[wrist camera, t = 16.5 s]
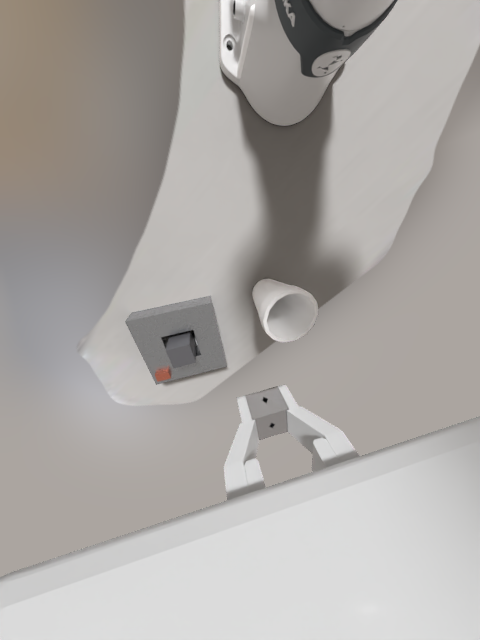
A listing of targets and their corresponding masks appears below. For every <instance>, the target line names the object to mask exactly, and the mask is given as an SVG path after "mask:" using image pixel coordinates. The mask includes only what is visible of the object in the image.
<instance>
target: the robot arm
mask: <svg viewBox="0 0 480 640" xmlns="http://www.w3.org/2000/svg"><path fill="white" fill-rule="evenodd" d="M396 2H397V0H219V57H220V67H221V69H222V71H223V73H224V74H225V75H226V76H227V77H228V78H229V79H230V80H231V81H233V82H234V83H235V84H237V85H238V86H239V87H240V88H241V90H242V91H243V93H244V94H245V96H246V98H247V100H248V101H249V103H250V105H251V106H252V107H253V109H254V110H255V111H256V112H257V113H258V114H259V115H260V116H261V117H262V118H264V119H265V120H266V121H268V122H270V123H272V124H275V125H281V126H288V125H293V124H296V123H298V122H300V121H302V120H303V119H305V118H306V117H307V116H308V115H309V114H310V113H311V112H312V111H313V110H314V109H315V107H316V106H317V104H318V103H319V101H320V100H321V98H322V96H323V94H324V92H325V90H326V88H327V87H328V85H329V83H330V82H331V80H332V78H333V77H334V75H335V74H336V72H337V71H338V69H339V68H340V67H341V66H342V64H343V63H345V62H346V61H347V60H348V59H349V58H350V57H351V56H352V55H353V54H354V53H355V52H356V51H357V50H358V49H359V47H360V46H361V45H362V44H363V43H364V42H365V41H366V40H367V39H368V37H369V36H370V35H371V34H372V33H373V32H374V31H375V29H376V28H377V27H378V26H379V25H380V24H381V22H382V21H383V20H384V19H385V18H386V17H387V15H388V14H389V12H390V11H391V10H392V8H393V7H394V5H395V3H396ZM227 45H230V46H231V48H232V50H231V51H229V50H228V49H227ZM237 402H238V407H239V411H240V416H241V420H242V423H241V424H239V427H238V430H237V433H236V436H235V438H234V441H233V443H232V446H231V449H230V452H229V454H228V457H227V460H226V463H225V465H224V474H225V484H226V493H227V501H224V502H221V503H219V504H215V505H212V506H209V507H206V508H203V509H200V510H197V511H195V512H192V513H188V514H185V515H182V516H180V517H176V518H174V519H170V520H167V521H164V522H162V523H158V524H155V525H153V526H150V527H147V528H143V529H140V530H137V531H135V532H131V533H128V534H125V535H122V536H119V537H116V538H113V539H110V540H107V541H105V542H101V543H99V544H95V545H93V546H90V547H86V548H84V549H81V550H77V551H74V552H71V553H69V554H65V555H62V556H59V557H57V558H53V559H50V560H47V561H45V562H42V563H38V564H35V565H32V566H29V567H26V568H23V569H20V570H17V571H14V572H11V573H9V574H6V575H4V576H2V577H0V640H480V417H476V418H473V419H470V420H467V421H464V422H461V423H458V424H455V425H452V426H449V427H446V428H444V429H440V430H438V431H435V432H431V433H428V434H425V435H422V436H419V437H416V438H414V439H410V440H407V441H405V442H402V443H398V444H395V445H392V446H390V447H386V448H383V449H381V450H377V451H374V452H371V453H369V454H365V455H362V456H359V455H358V453H357V451H356V450H355V449H354V447H353V446H352V445H351V443H350V442H349V440H348V439H347V438H346V436H345V434H344V433H343V432H342V430H340V429H338V428H337V427H335V426H333V425H332V424H330V423H328V422H326V421H325V420H324V419H322V418H320V417H319V416H317V415H315V414H313V413H312V412H310V411H309V410H307V409H305V408H304V407H302V406H298V405H297V403H296V401H295V399H294V397H293V396H292V394H291V392H290V390H289V389H288V387H287V385H285V384H284V385H281V386H277V387H273V388H270V389H267V390H263V391H260V392H257V393H252V394H249V395H245V396H241V397H237ZM285 432H288V433H289V434H291V435H292V436H293V437H294V438H295V439H296V440H297V441H299V442H300V443H301V444H302V445H303V446H304V447H306V448H307V449H308V450H309V451H310V452H311V453H312V454H313V458H312V471H313V472H311V473H308V474H305V475H302V476H300V477H297V478H293V479H290V480H287V481H284V482H282V483H278V484H275V485H272V486H269V487H266V488H265V484H264V480H263V477H262V473H261V469H260V465H259V462H258V460H256V454H257V450H258V445H259V440H261V439H265V438H268V437H271V436H274V435H277V434H281V433H285Z"/></svg>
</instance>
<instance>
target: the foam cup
mask: <svg viewBox="0 0 480 640" xmlns="http://www.w3.org/2000/svg"><path fill="white" fill-rule="evenodd" d="M252 296H253V300H254V303H255V306H256V308H257V311H258V314H259V318H260V322H261V326H262V327H263V329H264V330H265V332H266V333H267V334H268V335H269V336H270V337H271V338H272V339H273V340H276V341H279V342H283V343H285V342H291V341H296V340H298V339H299V338H301V337H303V336H305V335H306V334H307V333H308V332H309V331H310V330H311V328H312V327H313V326H314V324H315V322H316V319H317V316H318V304H317V301H316V300H315V299H314V297H313V296H312V294H311V293H309V292H307V291H306V290H304V289H302V288H299V287H297V286H294V285H288V284H285V283H282V282H279V281H276V280H272V279H262V280H261V281H259V282H257V284H256V285H255V286H254V288H253V292H252Z"/></svg>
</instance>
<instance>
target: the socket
mask: <svg viewBox="0 0 480 640" xmlns="http://www.w3.org/2000/svg"><path fill="white" fill-rule="evenodd" d="M125 322H126V324H127V326H128V328H129V330H130V332H131V334H132V336H133V338H134V340H135V342H136V345H137V347H138V349H139V351H140V353H141V355H142V357H143V359H144V361H145V363H146V365H147V367H148V369H149V371H150V373H151V375H152V377H153V379H154V381H155V383H156V385H157V384H160V383H164V382H168V381H172V380H176V379H180V378H184V377H188V376H192V375H195V374H199V373H203V372H207V371H211V370H215V369H219V368H223V367H227V364H226V359H225V355H224V350H223V346H222V342H221V338H220V334H219V330H218V325H217V321H216V317H215V313H214V309H213V305H212V301H211V296H207V297H203V298H198V299H193V300H189V301H184V302H179V303H175V304H170V305H166V306H161V307H156V308H152V309H147V310H142V311H138V312H133V313H131V314H130V316H129V317H128V318H127V320H126V321H125ZM190 330H194V334H195V337H196V340H197V343H198V346H196V363H193V364H189V365H185V366H181V367H178V368H173V366H172V364H171V362H170V359H169V357H168V355H167V353H166V347H167V343H168V337H167V336H169V335H173V334H177V333H182V332H186V331H190Z"/></svg>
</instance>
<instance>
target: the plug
mask: <svg viewBox="0 0 480 640" xmlns="http://www.w3.org/2000/svg"><path fill="white" fill-rule="evenodd" d="M166 353H167V355H168V357H169V359H170V362H171V364H172V366H173V368H178V367H181V366H185V365H189V364H193V363H196V344H195V341H194V338H193V336H192V333H191V330H190V331H186V332H182V333H177V334H173V335H169V339H168V343H167V347H166Z"/></svg>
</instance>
